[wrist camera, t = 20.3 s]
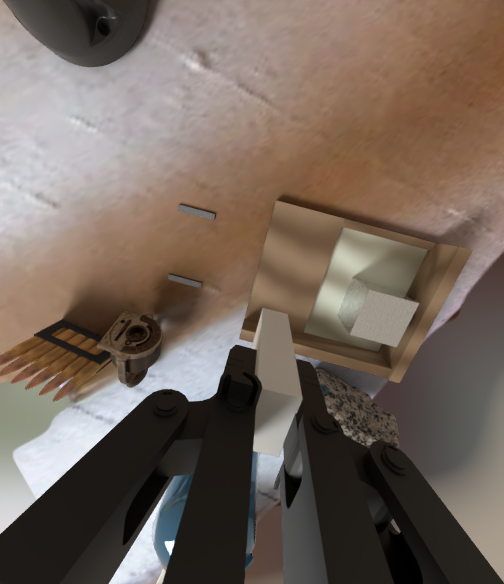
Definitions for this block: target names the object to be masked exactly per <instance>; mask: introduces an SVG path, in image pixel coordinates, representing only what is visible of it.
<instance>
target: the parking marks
mask: <svg viewBox="0 0 504 584" xmlns="http://www.w3.org/2000/svg"><path fill="white" fill-rule="evenodd" d="M178 211H181V212H185V213H189V214H192V215H196V216H200V217H204V218H207V219H211V220H214V218H215V214H213V213H209V212H205V211H202V210H198V209H194V208H190V207H187V206H183V205H179V207H178ZM168 280H171V281H175V282H179V283H183V284H186V285H190V286H194V287H198V288H201V285H202V283H201V282H197V281H193V280H189V279H186V278H182V277H178V276H174V275H171V274H169V276H168Z"/></svg>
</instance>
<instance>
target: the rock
mask: <svg viewBox="0 0 504 584" xmlns="http://www.w3.org/2000/svg"><path fill="white" fill-rule="evenodd" d="M315 370H316V372H317V376H318V380H319V382H320V388H321V389H322V393H323V396H324V399H325V403H326V406H327V410H328V413H329V414H331V415H332V416H333V417H334V418H335V419H336V420H337V421H338V422H339V423H340V425H341V427H342V429H343V432H344V434H345V435H346V436H348V437H349V438H351V439H353V440H355V441H357V442H359V443H360V444H362V445H364V446H366V447H368V448H369V447H370V446H371V444H372V443H373V441H378V440H380V441H385V442H388V443H390V444H392V445H394V446H396V447H397V448H399V438H398V437H399V433H398V432H397V421H396V419H395V417H394V416H393V415H392V414H390V413H388V412H387V411H385V410H381V409H380V408H379V407H377V405H376V404H375V403H374V402H373V401H372V400H371V398H370V396H369V395H368V394H366V393H364V392H362V391H361V390H359V388H355V387H352V386H349V385H348V384H346V383H344V382H343V381H342V380H340V379H339V378H337V377H336V376H334V375H333V374H331V373H329V372H326V371H324V370H323V369H315Z"/></svg>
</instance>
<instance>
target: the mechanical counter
mask: <svg viewBox="0 0 504 584" xmlns="http://www.w3.org/2000/svg"><path fill="white" fill-rule="evenodd" d="M162 335H163V332H162V329H161V326H160V325H159V324H158V322H156V321H155V320H154V319H153V316H152V315H149V314H146V315H139V314H135V313H132V312H129V311H125V310H124V311H123V312H122V314H121V315H120V316H119V318H118V319H117V320H116V321H115V323H114V324H113V325H112V327H111V328H110V329H109V330H108V332H107V333H106V334H105V335H104V337H103V338H102V339H101V341H100V342H99V344H98V346H97V348H99V349H103V350H106V351H109V352H110V355H111V359H112V362H113V364H114V365H115V366H116V367H117V368H118V377H119V380H120V382H121V383H123V384H126V385H127V386H128V387H134V386H136V385H138V384H139V383H140V382H141V381H142V380H143V379H144V377H145V376H146V374H147V371H148V368H149V367H151V366H152V365H153V364H154V363H155V362H156V361H157V359H158V357H159V355H160V350H161V342H162Z"/></svg>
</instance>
